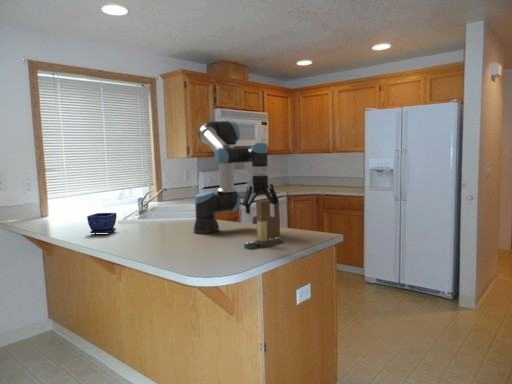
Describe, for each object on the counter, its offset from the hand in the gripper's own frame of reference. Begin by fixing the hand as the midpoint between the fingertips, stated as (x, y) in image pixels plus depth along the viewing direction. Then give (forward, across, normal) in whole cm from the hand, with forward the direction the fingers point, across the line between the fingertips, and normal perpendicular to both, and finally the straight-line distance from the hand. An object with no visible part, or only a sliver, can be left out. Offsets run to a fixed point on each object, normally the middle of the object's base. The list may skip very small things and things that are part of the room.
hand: (261, 218), depth 189 cm
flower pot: (+16, -53, +93) cm, 108 cm away
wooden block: (+14, +14, +13) cm, 24 cm away
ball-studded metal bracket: (+13, 0, -1) cm, 13 cm away
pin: (+13, 0, -1) cm, 13 cm away
